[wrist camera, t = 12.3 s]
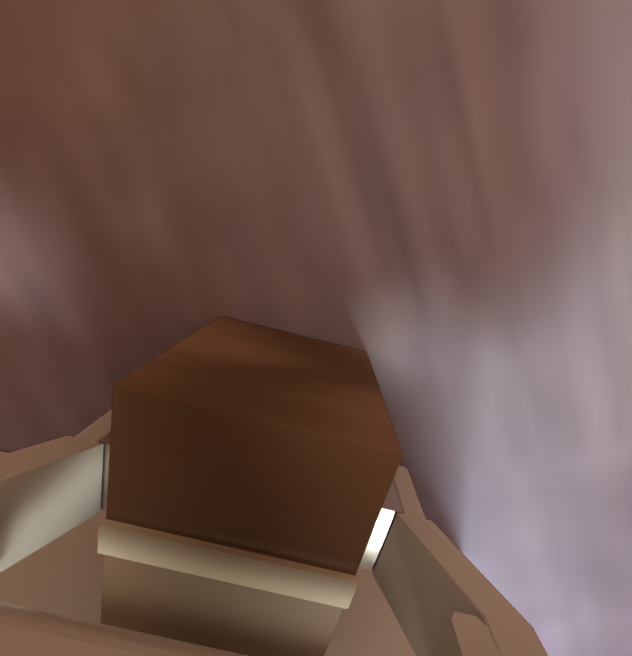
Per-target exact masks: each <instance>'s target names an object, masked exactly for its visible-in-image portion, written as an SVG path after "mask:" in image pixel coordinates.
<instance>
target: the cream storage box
mask: <svg viewBox="0 0 632 656" xmlns="http://www.w3.org/2000/svg"><path fill="white" fill-rule="evenodd" d="M6 453H7V452H2V451H0V455H2V454H6ZM105 515H106V510H101V511H100V512H99V513H97V514H96V515H94V516H93V517H91V518H89V519H88V520H86V521H84V522H83V523H81V524H79V525H78V526H76V527H74V528H73V529H71V530H69V531H68V532H66V533H65V534H63V535H61V536H60V537H58V538H56V539H55V540H53V541H51V542H50V543H48V544H46V545H45V546H43V547H41V548H40V549H38V550H37V551H35V552H33V553H32V554H30V555H28V556H27V557H25V558H23V559H22V560H20V561H18V562H17V563H15V564H14V565H12V566H10V567H9V568H7V569H5V570H4V571H2V572H0V602H5V603H9V604H14V605H19V606H23V607H28V608H32V609H37V610H41V611H46V612H51V613H55V614H60V615H64V616H69V617H73V618H78V619H83V620H87V621H92V622H96V623H100V622H101V603H102V584H103V565H104V554H99V553H97V551H98V529H99V523H100V521H101V520H102V519H103V518H104V517H105ZM372 573H373V571H369V570H365V569H361V568H358V581H359V583H358V586H357V588H356V590H355V593H354V595H353V598H352V600H351V603H350V605H349V608H348V609H344V608H343V609H342V611H341V614H340V616H339V619H338V621H337V624H336V626H335V629H334V631H333V634H332V637H331V639H330V642H329V644H328V647H327V649H326V652H325V654H324V656H416V655H415V653H414V651H413V649H412V647H411V645H410V643H409V642H408V640H407V638H406V636H405V634H404V632H403V630H402V628H401V627H400V625H399V623H398V621H397V619H396V617H395V615H394V613H393V612H392V610H391V608H390V606H389V604H388V602H387V600H386V598H385V597H384V595H383V593H382V591H381V589H380V587H379V585H378V583H377V581H376V580H375V578H374V576H373V574H372Z"/></svg>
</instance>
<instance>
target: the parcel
mask: <svg viewBox="0 0 632 656" xmlns="http://www.w3.org/2000/svg"><path fill="white" fill-rule="evenodd" d="M402 456H403V454H402V451H401V448H400V445H399V442H398V440H397V437H396V434H395V431H394V428H393V425H392V423H391V420H390V417H389V414H388V411H387V408H386V406H385V403H384V400H383V397H382V394H381V391H380V389H379V386H378V383H377V380H376V377H375V375H374V372H373V369H372V366H371V363H370V360H369V358H368V355H367V352H365V351H361V350H357V349H352V348H348V347H344V346H340V345H336V344H332V343H328V342H324V341H320V340H316V339H312V338H308V337H304V336H300V335H296V334H292V333H288V332H284V331H280V330H275V329H271V328H267V327H263V326H259V325H255V324H251V323H247V322H243V321H239V320H235V319H231V318H227V317H223V316H220V317H219V318H217V319H216V320H214V321H212V322H211V323H209V324H208V325H206V326H205V327H203V328H202V329H200V330H199V331H197V332H195V333H194V334H192V335H191V336H189V337H188V338H186V339H185V340H183V341H181V342H180V343H178V344H177V345H175V346H174V347H172V348H171V349H169V350H167V351H166V352H164V353H163V354H161V355H160V356H158V357H157V358H155V359H154V360H152V361H150V362H149V363H147V364H146V365H144V366H143V367H141V368H140V369H138V370H136V371H135V372H133V373H132V374H130V375H129V376H127V377H126V378H124V379H122V380H121V381H119V382H118V383H116V384H115V385H113V395H112V414H111V433H110V452H109V471H108V489H107V508H106V515H105V517H104V518H103V519H102V520H101V521H100V523H99V529H98V551H97V553H99V554H104V565H103V584H102V603H101V622H100V623H101V624H106V625H110V626H115V627H119V628H124V629H129V630H133V631H138V632H142V633H147V634H151V635H156V636H161V637H165V638H170V639H174V640H179V641H184V642H188V643H193V644H197V645H202V646H207V647H211V648H216V649H220V650H225V651H230V652H234V653H239V654H243V655H248V656H324V654H325V652H326V649H327V647H328V644H329V642H330V639H331V637H332V634H333V631H334V629H335V626H336V624H337V621H338V619H339V616H340V614H341V611H342V609H343V608H344V609H348V608H349V605H350V603H351V600H352V598H353V595H354V593H355V590H356V588H357V586H358V583H359V581H358V568H359V565H360V563H361V560H362V558H363V555H364V553H365V550H366V547H367V545H368V542H369V540H370V537H371V535H372V532H373V530H374V527H375V525H376V522H377V520H378V517H379V514H380V512H381V509H382V507H383V504H384V502H385V499H386V497H387V494H388V492H389V489H390V486H391V484H392V481H393V479H394V476H395V474H396V471H397V469H398V466H399V464H400V461H401V458H402Z"/></svg>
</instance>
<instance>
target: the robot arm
mask: <svg viewBox="0 0 632 656" xmlns="http://www.w3.org/2000/svg"><path fill="white" fill-rule="evenodd" d="M111 414H112V409H111V410H110V411H108V412H107V413H106V414H104V415H103V416H102V417H100V418H99V419H98V420H96V421H95V422H93V423H92V424H91V425H89V426H88V427H87V428H85V429H84V430H83V431H81V432H80V433H79V434H77V435H76V436H75V437H71V436H64V437H61V438H57V439H54V440H50V441H47V442H44V443H40V444H37V445H33V446H30V447H26V448H23V449H20V450H16V451H13V452H9V453H6V454H2V455H0V572H2V571H4V570H5V569H7V568H9V567H10V566H12V565H14V564H15V563H17V562H18V561H20V560H22V559H23V558H25V557H27V556H28V555H30V554H32V553H33V552H35V551H37V550H38V549H40V548H41V547H43V546H45V545H46V544H48V543H50V542H51V541H53V540H55V539H56V538H58V537H60V536H61V535H63V534H65V533H66V532H68V531H69V530H71V529H73V528H74V527H76V526H78V525H79V524H81V523H83V522H84V521H86V520H88V519H89V518H91V517H93V516H94V515H96V514H97V513H99V512H100V511H101V510H106V508H107V489H108V471H109V452H110V433H111ZM359 568H361V569H365V570H369V571H373V573H372V574H373V576H374V578H375V580H376V581H377V583H378V585H379V587H380V589H381V591H382V593H383V595H384V597H385V598H386V600H387V602H388V604H389V606H390V608H391V610H392V612H393V613H394V615H395V617H396V619H397V621H398V623H399V625H400V627H401V628H402V630H403V632H404V634H405V636H406V638H407V640H408V642H409V643H410V645H411V647H412V649H413V651H414V653H415V655H416V656H548V654H547V653H546V651H545V649H544V647H543V645H542V643H541V641H540V640H539V638H538V636H537V634H536V632H535V630H534V628H533V627H532V626H531V625H530V624H529V623H528V622H527V621H526V619H525V618H524V617H523V616H522V615H521V614H520V613H519V612H518V611H517V610H516V609H515V608H514V607H513V606H512V605H511V604H510V603H509V602H508V601H507V599H506V598H505V597H504V596H503V595H502V594H501V593H500V592H499V591H498V590H497V589H496V588H495V587H494V586H493V585H492V584H491V583H490V582H489V581H488V579H487V578H486V577H485V576H484V575H483V574H482V573H481V572H480V571H479V570H478V569H477V568H476V567H475V566H474V565H473V564H472V563H471V562H470V561H469V560H468V558H467V557H466V556H465V555H464V554H463V553H462V552H461V551H460V550H459V549H458V548H457V547H456V546H455V545H454V544H453V543H452V542H451V541H450V540H449V538H448V537H447V536H446V535H445V534H444V533H443V532H442V531H441V530H440V529H439V528H438V527H437V526H436V525H435V524H434V523H433V522H432V521H431V520H427V519H425V516H424V513H423V510H422V508H421V505H420V502H419V499H418V497H417V494H416V491H415V488H414V486H413V483H412V480H411V477H410V475H409V472H408V469H407V468H406V467H405V466H401V465H399V466H398V469H397V471H396V474H395V476H394V479H393V481H392V484H391V486H390V489H389V492H388V494H387V497H386V499H385V502H384V504H383V507H382V509H381V512H380V514H379V517H378V520H377V522H376V525H375V527H374V530H373V532H372V535H371V537H370V540H369V542H368V545H367V547H366V550H365V553H364V555H363V558H362V560H361V563H360V565H359ZM0 656H248V655H243V654H239V653H234V652H230V651H225V650H220V649H216V648H211V647H207V646H202V645H197V644H193V643H188V642H184V641H179V640H174V639H170V638H165V637H161V636H156V635H151V634H147V633H142V632H138V631H133V630H129V629H124V628H119V627H115V626H110V625H106V624H101V623H96V622H92V621H87V620H83V619H78V618H73V617H69V616H64V615H60V614H55V613H51V612H46V611H41V610H37V609H32V608H28V607H23V606H19V605H14V604H9V603H5V602H0Z"/></svg>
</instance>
